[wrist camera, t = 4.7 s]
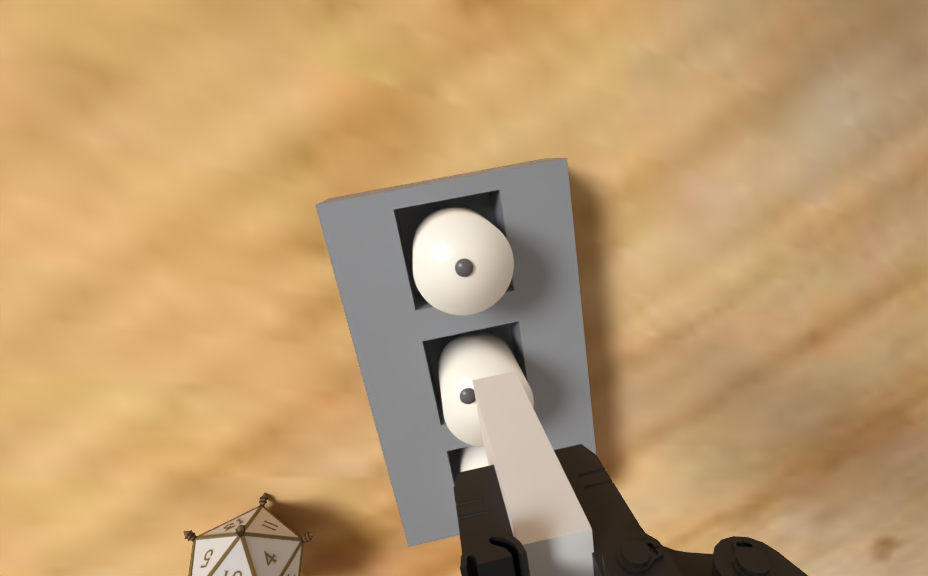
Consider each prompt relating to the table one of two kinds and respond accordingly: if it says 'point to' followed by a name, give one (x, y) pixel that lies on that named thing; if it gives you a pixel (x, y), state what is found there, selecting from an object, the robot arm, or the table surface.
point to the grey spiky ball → (248, 547)
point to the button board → (459, 321)
